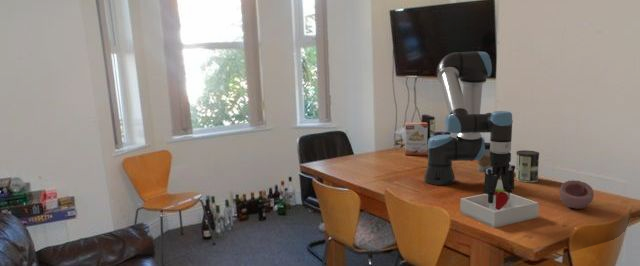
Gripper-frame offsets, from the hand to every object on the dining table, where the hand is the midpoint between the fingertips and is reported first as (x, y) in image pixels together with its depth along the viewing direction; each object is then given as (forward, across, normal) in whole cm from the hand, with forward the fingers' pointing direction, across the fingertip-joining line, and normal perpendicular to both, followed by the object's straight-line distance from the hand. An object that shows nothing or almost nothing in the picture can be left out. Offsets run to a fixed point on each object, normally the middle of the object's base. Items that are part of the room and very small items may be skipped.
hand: (498, 209), depth 171 cm
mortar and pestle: (+3, +33, -8) cm, 34 cm away
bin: (+2, 0, 0) cm, 2 cm away
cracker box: (+2, +38, +108) cm, 115 cm away
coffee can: (+3, +50, +31) cm, 59 cm away
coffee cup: (+2, +45, +55) cm, 71 cm away
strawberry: (0, 0, 0) cm, 0 cm away
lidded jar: (+3, +25, +24) cm, 35 cm away
